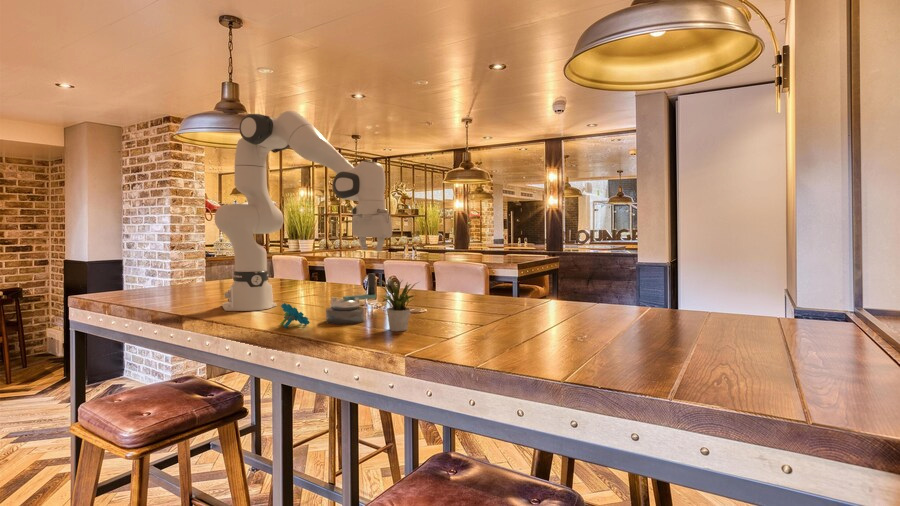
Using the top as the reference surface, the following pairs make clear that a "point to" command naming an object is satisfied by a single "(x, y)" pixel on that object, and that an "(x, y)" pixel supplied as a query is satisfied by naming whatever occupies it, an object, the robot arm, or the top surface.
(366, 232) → the robot arm
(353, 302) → the crank handle
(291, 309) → the toy dinosaur
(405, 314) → the house plant
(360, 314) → the nut housing
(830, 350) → the top surface
